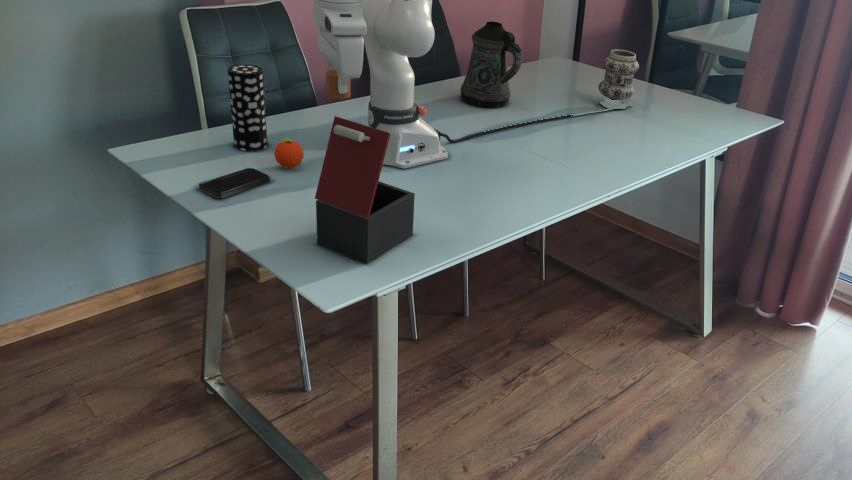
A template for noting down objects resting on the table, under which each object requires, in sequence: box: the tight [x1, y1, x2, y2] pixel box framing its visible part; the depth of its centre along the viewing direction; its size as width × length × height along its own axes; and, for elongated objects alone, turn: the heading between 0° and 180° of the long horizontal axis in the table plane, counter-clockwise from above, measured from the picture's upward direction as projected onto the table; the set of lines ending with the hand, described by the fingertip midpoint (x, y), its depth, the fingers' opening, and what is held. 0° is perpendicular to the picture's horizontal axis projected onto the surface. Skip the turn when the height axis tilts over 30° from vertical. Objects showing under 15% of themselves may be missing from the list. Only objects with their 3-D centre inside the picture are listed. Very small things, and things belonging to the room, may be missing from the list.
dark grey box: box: [315, 180, 416, 265], centre depth 158 cm, size 16×13×10 cm
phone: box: [198, 167, 271, 200], centre depth 177 cm, size 8×1×15 cm
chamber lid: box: [314, 115, 391, 218], centre depth 146 cm, size 17×13×5 cm
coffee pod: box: [325, 70, 351, 100], centre depth 147 cm, size 5×5×4 cm
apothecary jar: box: [598, 48, 640, 101], centre depth 254 cm, size 12×12×18 cm
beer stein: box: [460, 21, 524, 109], centre depth 243 cm, size 16×19×25 cm
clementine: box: [274, 138, 304, 169], centre depth 187 cm, size 8×7×7 cm
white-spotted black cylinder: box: [227, 63, 268, 152], centre depth 193 cm, size 8×8×20 cm
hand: (338, 87), depth 148 cm, fingers closed on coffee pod, 4 cm apart
